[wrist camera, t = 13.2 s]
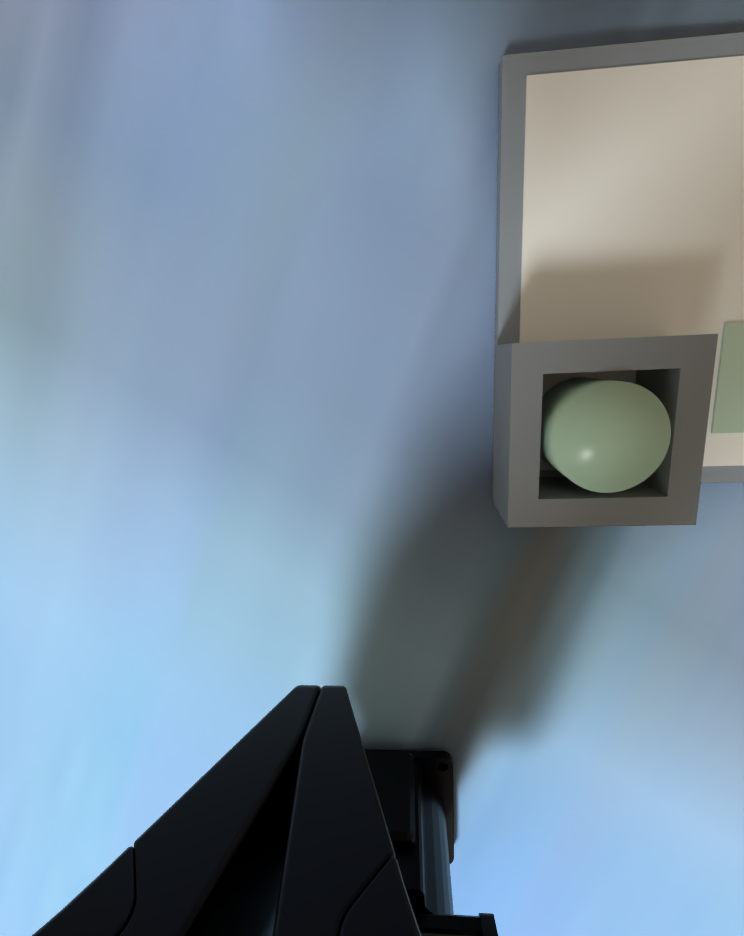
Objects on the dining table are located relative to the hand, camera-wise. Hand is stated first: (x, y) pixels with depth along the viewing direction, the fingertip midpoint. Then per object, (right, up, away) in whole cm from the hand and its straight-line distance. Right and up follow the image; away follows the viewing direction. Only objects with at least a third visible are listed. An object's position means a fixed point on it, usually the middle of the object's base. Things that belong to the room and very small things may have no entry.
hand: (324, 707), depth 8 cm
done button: (+9, +6, +10) cm, 14 cm away
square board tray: (+14, +11, +9) cm, 20 cm away
